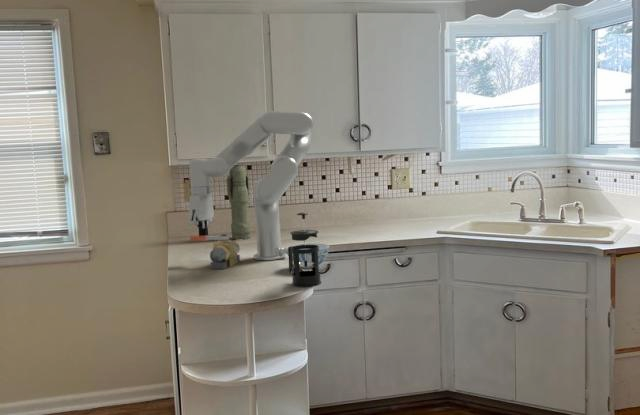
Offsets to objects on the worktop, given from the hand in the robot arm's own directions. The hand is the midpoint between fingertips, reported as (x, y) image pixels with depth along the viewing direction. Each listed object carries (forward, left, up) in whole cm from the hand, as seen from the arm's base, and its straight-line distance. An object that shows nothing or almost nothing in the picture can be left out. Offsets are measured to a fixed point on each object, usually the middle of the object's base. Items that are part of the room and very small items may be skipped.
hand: (203, 238), depth 249 cm
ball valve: (-10, +3, -10) cm, 15 cm away
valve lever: (-4, +3, 0) cm, 5 cm away
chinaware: (-44, +6, -10) cm, 46 cm away
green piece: (+10, -59, -10) cm, 60 cm away
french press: (-50, +30, -10) cm, 59 cm away
